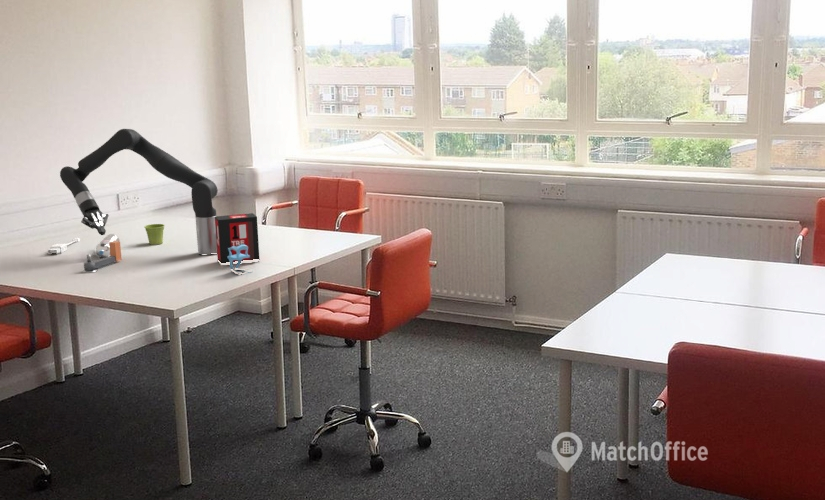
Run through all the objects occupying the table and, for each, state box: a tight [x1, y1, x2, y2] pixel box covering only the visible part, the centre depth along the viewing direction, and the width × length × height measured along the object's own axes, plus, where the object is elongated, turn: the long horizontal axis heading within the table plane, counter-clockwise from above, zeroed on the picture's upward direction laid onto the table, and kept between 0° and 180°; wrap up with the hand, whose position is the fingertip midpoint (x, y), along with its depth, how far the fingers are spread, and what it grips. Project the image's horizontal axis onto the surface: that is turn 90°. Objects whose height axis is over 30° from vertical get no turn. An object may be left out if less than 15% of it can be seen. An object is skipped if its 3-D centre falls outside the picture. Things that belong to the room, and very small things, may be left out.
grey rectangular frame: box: [95, 265, 109, 270], centre depth 385 cm, size 6×4×1 cm
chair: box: [227, 244, 250, 270], centre depth 370 cm, size 8×8×12 cm
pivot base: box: [82, 254, 99, 274], centre depth 377 cm, size 6×6×7 cm
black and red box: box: [215, 212, 260, 263], centre depth 387 cm, size 16×9×20 cm, turn 111°
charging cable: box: [46, 237, 81, 255], centre depth 423 cm, size 5×32×3 cm, turn 0°
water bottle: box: [94, 233, 121, 259], centre depth 409 cm, size 7×7×25 cm
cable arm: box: [83, 241, 122, 271], centre depth 384 cm, size 20×4×8 cm, turn 158°
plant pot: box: [143, 223, 166, 246], centre depth 427 cm, size 9×9×9 cm
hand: (103, 233), depth 396 cm, fingers closed
